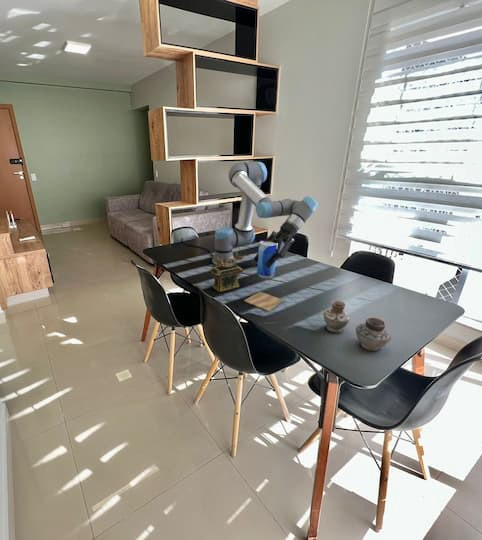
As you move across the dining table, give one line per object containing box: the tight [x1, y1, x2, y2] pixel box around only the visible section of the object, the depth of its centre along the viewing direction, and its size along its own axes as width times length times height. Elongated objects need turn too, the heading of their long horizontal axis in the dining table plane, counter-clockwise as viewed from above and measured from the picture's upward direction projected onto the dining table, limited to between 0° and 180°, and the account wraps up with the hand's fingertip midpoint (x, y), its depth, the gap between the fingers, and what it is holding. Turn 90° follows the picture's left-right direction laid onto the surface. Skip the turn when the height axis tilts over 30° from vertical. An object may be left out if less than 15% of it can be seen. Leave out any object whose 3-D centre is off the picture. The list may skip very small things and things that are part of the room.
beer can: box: [256, 242, 278, 279], centre depth 136 cm, size 8×8×16 cm
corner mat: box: [243, 291, 285, 312], centre depth 142 cm, size 14×14×1 cm
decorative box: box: [208, 250, 246, 292], centre depth 156 cm, size 20×10×20 cm, turn 117°
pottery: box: [323, 300, 392, 351], centre depth 111 cm, size 11×25×12 cm, turn 36°
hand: (260, 263), depth 135 cm, fingers closed on beer can, 8 cm apart
